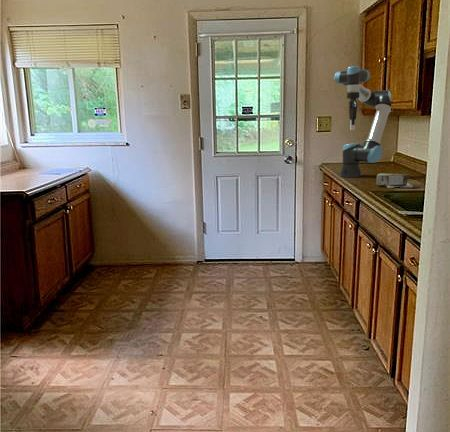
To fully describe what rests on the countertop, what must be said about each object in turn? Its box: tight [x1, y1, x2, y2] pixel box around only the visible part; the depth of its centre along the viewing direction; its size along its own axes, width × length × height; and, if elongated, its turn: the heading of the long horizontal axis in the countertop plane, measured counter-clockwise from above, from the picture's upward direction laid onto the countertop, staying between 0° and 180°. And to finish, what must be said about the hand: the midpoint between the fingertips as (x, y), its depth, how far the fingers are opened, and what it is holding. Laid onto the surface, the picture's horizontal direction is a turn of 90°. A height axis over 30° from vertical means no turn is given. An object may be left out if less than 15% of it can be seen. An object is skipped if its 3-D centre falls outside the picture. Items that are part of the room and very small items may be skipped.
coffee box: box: [375, 172, 408, 188], centre depth 279 cm, size 9×6×16 cm
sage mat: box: [383, 182, 414, 189], centre depth 285 cm, size 19×14×1 cm
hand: (352, 129), depth 291 cm, fingers closed
